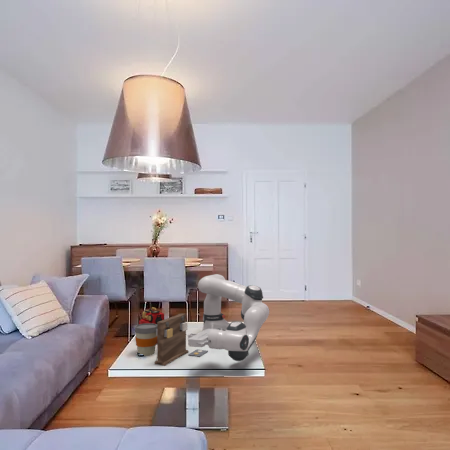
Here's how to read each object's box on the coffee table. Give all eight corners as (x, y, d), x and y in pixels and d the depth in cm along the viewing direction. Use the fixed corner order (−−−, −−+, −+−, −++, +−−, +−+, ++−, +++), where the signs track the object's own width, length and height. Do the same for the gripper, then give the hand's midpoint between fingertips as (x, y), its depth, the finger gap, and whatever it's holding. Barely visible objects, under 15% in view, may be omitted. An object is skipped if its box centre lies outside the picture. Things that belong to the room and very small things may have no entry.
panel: (188, 352, 200) (188, 314, 201) (164, 365, 179) (164, 323, 180) (179, 351, 203) (179, 313, 203) (154, 364, 182) (154, 321, 182)
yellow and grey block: (172, 336, 185) (172, 328, 185) (168, 338, 181) (168, 330, 181) (160, 334, 188) (160, 327, 188) (155, 336, 184) (155, 328, 184)
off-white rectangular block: (187, 329, 199) (187, 322, 199) (183, 331, 195) (183, 323, 195) (175, 328, 202) (175, 321, 202) (171, 329, 198) (171, 322, 198)
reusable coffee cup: (143, 348, 207) (143, 322, 207) (162, 351, 202) (162, 324, 203) (129, 355, 195) (130, 327, 196) (149, 358, 191) (149, 329, 191)
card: (208, 351, 201) (208, 350, 201) (199, 357, 192) (199, 355, 192) (196, 350, 204) (196, 348, 204) (188, 355, 195) (188, 353, 195)
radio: (138, 340, 224) (138, 308, 224) (152, 337, 230) (152, 306, 231) (150, 346, 212) (150, 311, 212) (165, 343, 218) (165, 309, 219)
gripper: (204, 351, 163) (178, 348, 169) (223, 340, 182) (199, 337, 188) (204, 337, 164) (178, 334, 169) (223, 327, 182) (199, 324, 188)
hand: (189, 335), depth 179 cm, fingers closed
